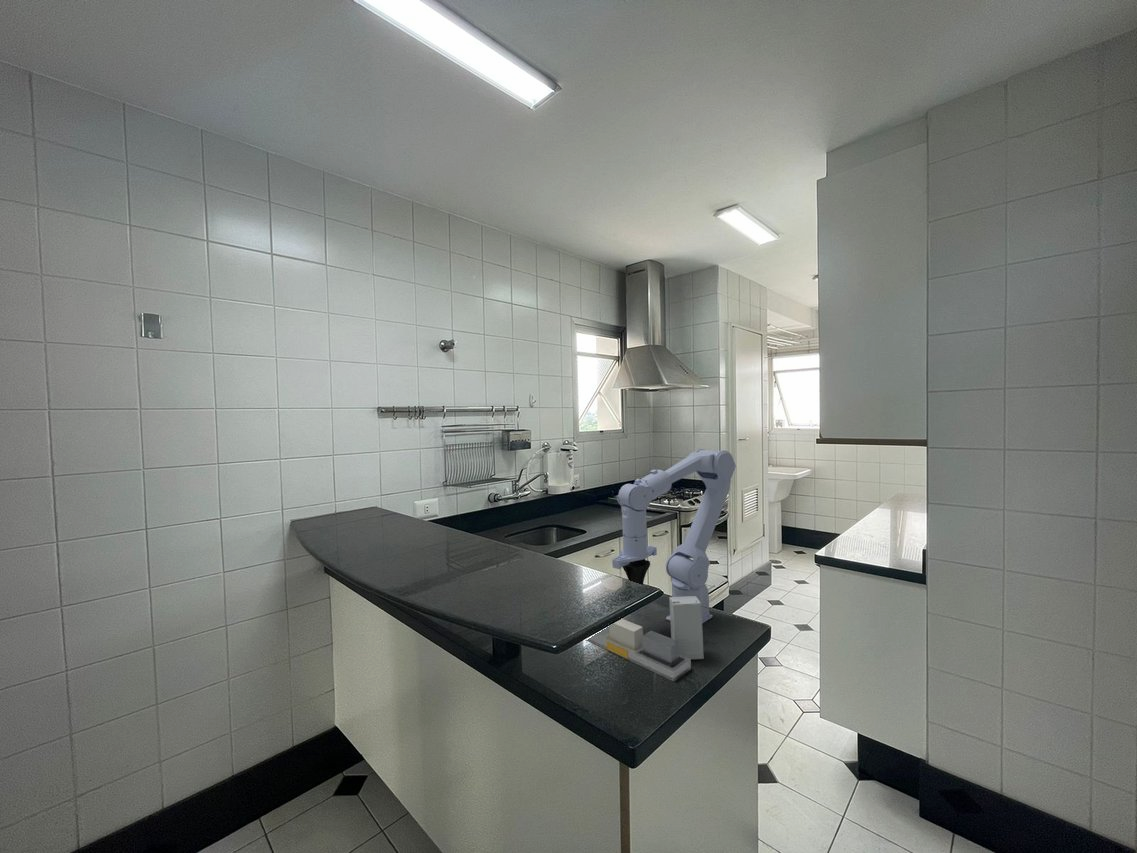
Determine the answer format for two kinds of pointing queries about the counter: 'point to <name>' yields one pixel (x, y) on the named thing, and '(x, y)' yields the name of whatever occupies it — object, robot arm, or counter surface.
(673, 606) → the skincare box
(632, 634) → the tall white prism
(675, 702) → the counter surface
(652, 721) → the counter surface
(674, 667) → the tray
